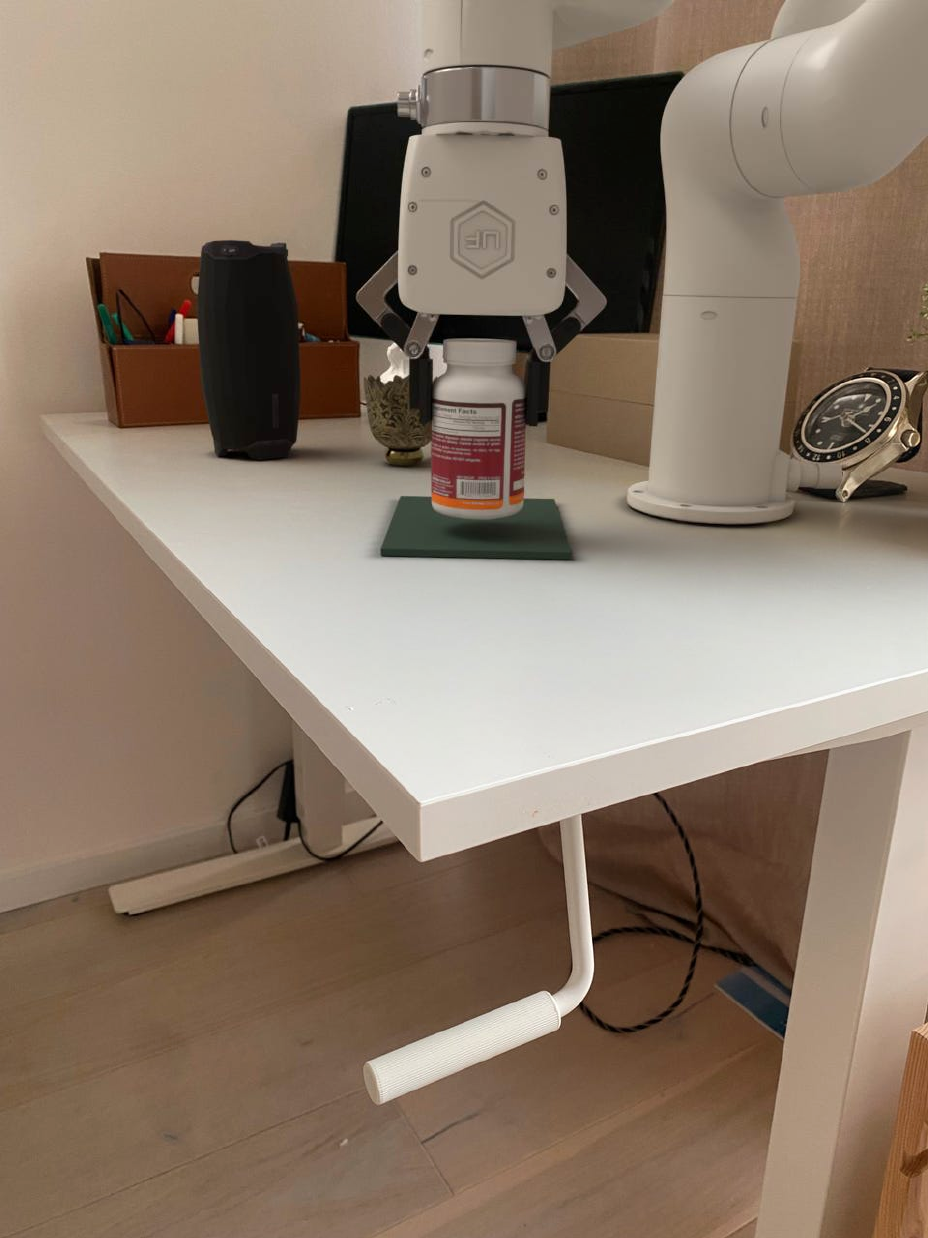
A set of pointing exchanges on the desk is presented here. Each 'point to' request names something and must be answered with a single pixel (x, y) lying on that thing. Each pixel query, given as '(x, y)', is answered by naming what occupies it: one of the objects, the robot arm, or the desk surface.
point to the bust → (396, 364)
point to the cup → (396, 420)
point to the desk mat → (476, 533)
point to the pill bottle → (478, 431)
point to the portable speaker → (249, 347)
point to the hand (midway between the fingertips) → (478, 419)
